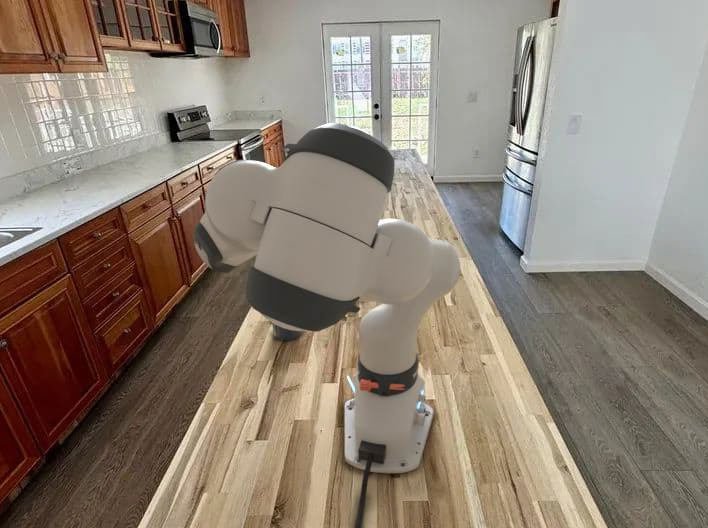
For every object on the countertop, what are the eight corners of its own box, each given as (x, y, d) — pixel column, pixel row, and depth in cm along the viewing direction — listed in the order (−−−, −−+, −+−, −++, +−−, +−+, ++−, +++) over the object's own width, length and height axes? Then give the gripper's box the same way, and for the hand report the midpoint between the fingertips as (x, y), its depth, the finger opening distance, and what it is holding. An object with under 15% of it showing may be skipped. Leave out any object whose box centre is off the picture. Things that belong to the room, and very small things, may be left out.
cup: (297, 341, 116) (293, 309, 111) (270, 340, 117) (265, 307, 112) (305, 325, 122) (301, 294, 118) (278, 324, 123) (274, 293, 119)
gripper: (227, 219, 98) (254, 257, 109) (284, 252, 87) (309, 291, 97) (247, 201, 100) (272, 240, 111) (306, 231, 89) (327, 271, 100)
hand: (290, 264), depth 104 cm, fingers closed
